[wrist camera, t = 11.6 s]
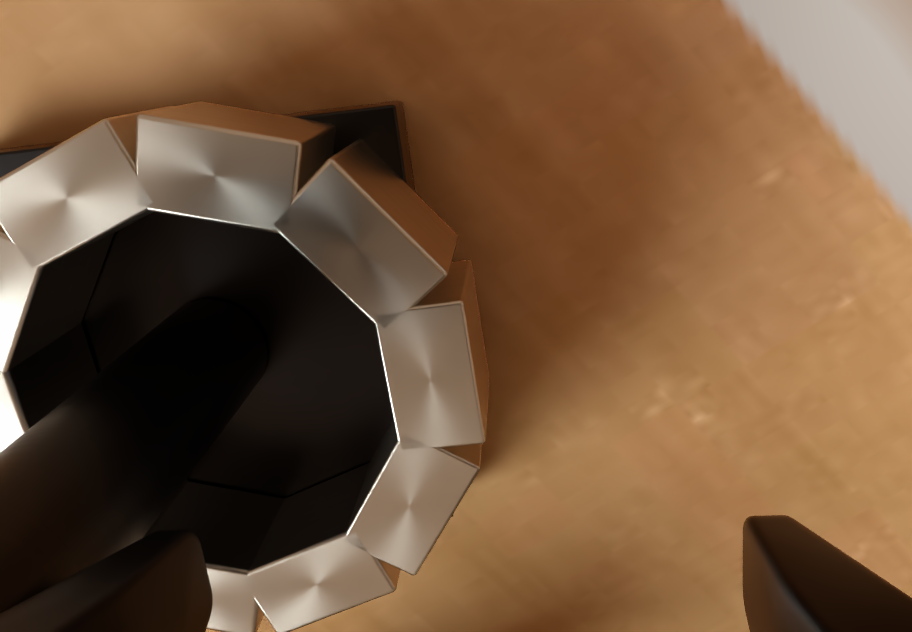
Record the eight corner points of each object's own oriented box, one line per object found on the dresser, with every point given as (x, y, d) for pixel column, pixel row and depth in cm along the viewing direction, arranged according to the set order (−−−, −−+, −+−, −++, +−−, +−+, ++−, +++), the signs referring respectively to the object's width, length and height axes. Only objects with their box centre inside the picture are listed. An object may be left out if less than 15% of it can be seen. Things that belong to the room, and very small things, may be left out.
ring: (441, 62, 13) (426, 66, 11) (513, 535, 16) (514, 617, 14) (-52, 141, 14) (-161, 161, 12) (99, 573, 17) (35, 655, 15)
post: (403, 99, 14) (240, 190, 6) (456, 491, 17) (398, 952, 8) (-14, 151, 15) (-694, 295, 7) (97, 516, 18) (-289, 958, 9)
